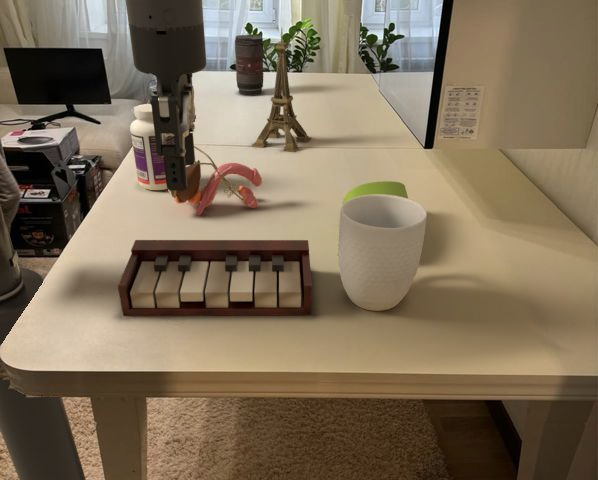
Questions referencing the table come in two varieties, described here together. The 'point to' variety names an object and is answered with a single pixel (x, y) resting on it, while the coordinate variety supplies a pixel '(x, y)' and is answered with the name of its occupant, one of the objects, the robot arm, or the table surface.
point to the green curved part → (377, 190)
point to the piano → (217, 277)
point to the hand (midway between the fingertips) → (182, 176)
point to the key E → (195, 282)
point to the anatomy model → (216, 184)
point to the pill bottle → (147, 150)
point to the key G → (242, 283)
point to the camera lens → (249, 64)
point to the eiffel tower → (283, 100)
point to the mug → (379, 248)
